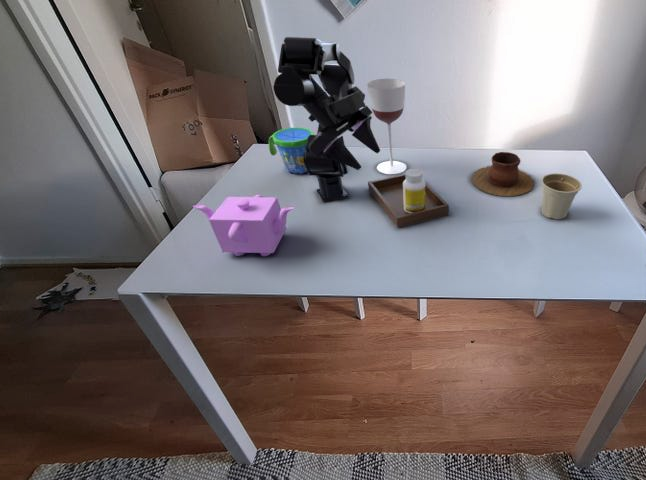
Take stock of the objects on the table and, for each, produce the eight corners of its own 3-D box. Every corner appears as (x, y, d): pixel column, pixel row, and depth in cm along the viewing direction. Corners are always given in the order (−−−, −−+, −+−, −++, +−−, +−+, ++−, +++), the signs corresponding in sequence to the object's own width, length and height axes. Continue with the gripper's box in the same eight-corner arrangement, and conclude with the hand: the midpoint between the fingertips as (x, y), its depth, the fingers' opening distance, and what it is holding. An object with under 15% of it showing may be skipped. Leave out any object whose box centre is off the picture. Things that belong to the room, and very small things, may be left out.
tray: (368, 190, 104) (367, 181, 102) (415, 180, 109) (414, 171, 107) (397, 227, 91) (397, 218, 89) (448, 214, 96) (449, 205, 94)
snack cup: (334, 165, 114) (328, 131, 107) (314, 181, 106) (306, 145, 100) (288, 157, 117) (280, 123, 111) (265, 172, 110) (255, 136, 103)
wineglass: (414, 165, 116) (412, 82, 101) (393, 178, 109) (387, 91, 95) (390, 157, 120) (385, 76, 105) (368, 169, 113) (359, 84, 98)
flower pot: (580, 213, 98) (589, 182, 93) (560, 228, 93) (569, 196, 87) (548, 199, 103) (554, 169, 97) (528, 213, 98) (534, 181, 92)
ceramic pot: (547, 186, 109) (552, 162, 104) (498, 203, 101) (501, 178, 96) (505, 162, 120) (508, 139, 115) (458, 175, 112) (459, 152, 107)
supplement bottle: (429, 212, 95) (429, 175, 89) (408, 216, 93) (407, 179, 87) (420, 201, 99) (420, 165, 93) (400, 206, 97) (398, 169, 91)
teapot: (278, 219, 92) (266, 177, 85) (305, 245, 84) (293, 202, 77) (210, 244, 84) (189, 200, 77) (232, 275, 76) (212, 230, 69)
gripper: (310, 88, 70) (371, 156, 75) (359, 65, 84) (408, 124, 89) (283, 125, 77) (341, 185, 82) (333, 99, 91) (380, 151, 96)
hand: (369, 160), depth 87 cm, fingers open, 9 cm apart
